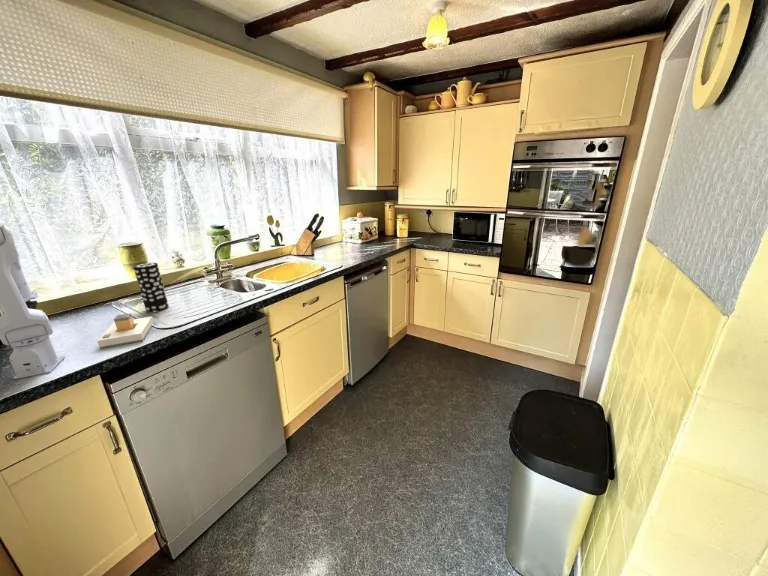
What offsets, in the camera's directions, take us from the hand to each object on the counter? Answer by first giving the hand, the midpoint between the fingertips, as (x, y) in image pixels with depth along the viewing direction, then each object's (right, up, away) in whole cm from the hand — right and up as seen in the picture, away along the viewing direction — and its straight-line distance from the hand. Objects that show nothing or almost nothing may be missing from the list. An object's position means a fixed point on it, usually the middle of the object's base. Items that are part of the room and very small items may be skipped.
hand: (30, 324), depth 100 cm
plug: (+22, -5, +12) cm, 25 cm away
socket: (+22, -5, +12) cm, 26 cm away
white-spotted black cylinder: (+15, +3, +36) cm, 39 cm away
